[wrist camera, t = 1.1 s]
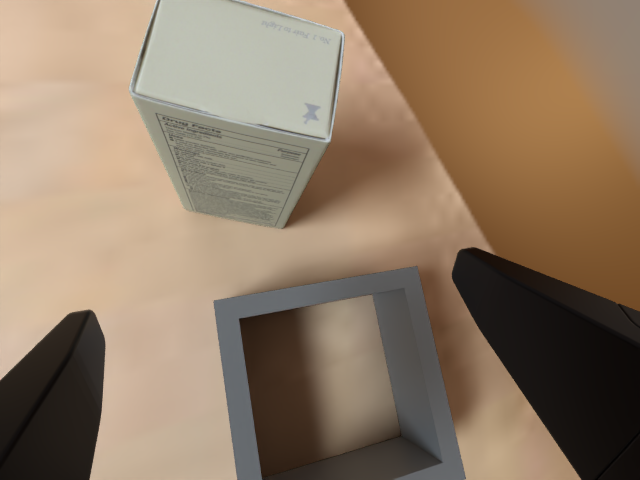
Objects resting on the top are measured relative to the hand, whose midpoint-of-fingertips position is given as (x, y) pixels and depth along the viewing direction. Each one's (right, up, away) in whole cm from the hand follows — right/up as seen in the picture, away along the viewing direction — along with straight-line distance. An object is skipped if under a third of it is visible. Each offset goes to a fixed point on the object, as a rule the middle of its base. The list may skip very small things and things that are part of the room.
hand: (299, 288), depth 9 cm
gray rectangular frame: (+1, -7, +13) cm, 15 cm away
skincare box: (-5, +4, +14) cm, 16 cm away
